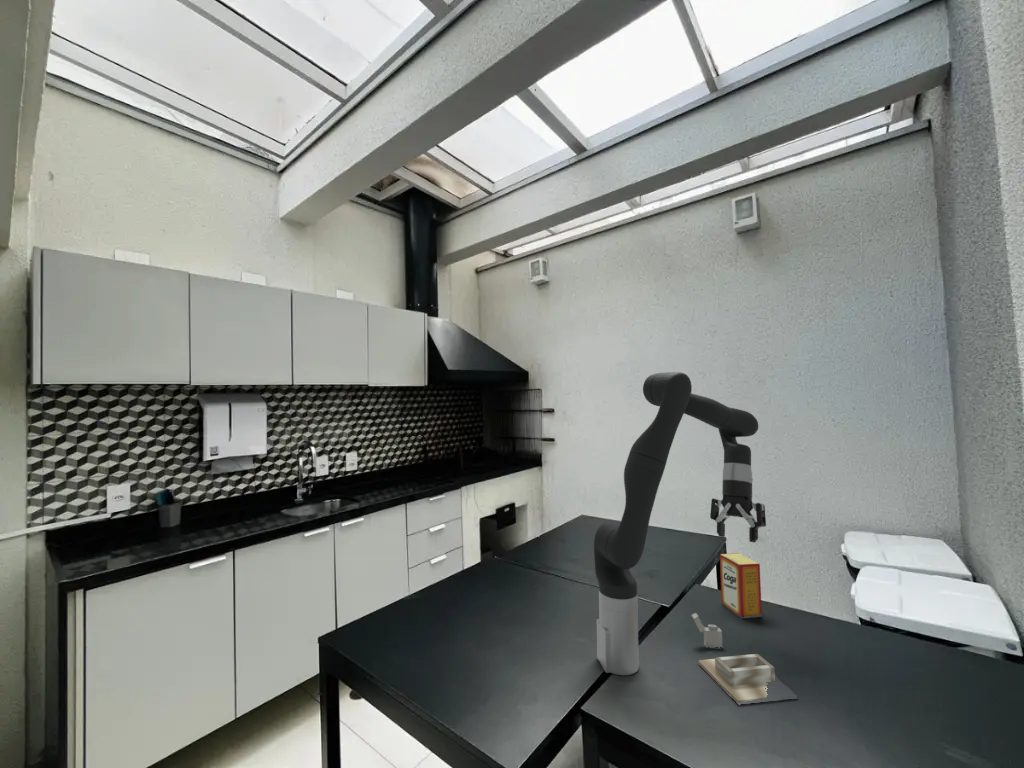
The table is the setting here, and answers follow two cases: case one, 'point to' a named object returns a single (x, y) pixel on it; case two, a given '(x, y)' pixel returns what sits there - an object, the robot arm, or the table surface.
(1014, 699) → the table surface
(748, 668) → the holder
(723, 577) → the baking soda box
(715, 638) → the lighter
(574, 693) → the table surface
